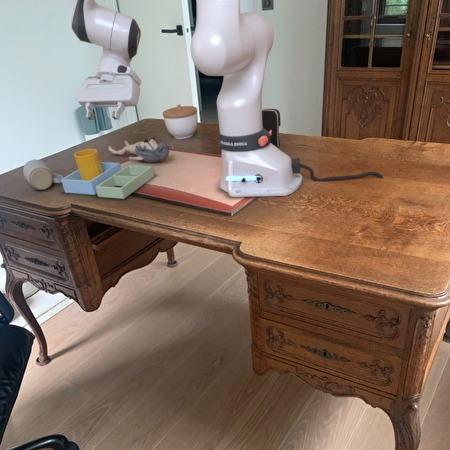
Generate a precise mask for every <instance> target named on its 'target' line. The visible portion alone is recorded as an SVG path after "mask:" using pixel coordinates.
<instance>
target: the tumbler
mask: <svg viewBox="0 0 450 450" xmlns="http://www.w3.org/2000/svg"><path fill="white" fill-rule="evenodd" d="M73 157H74V160H75V164H76V166H77V170H79V173H80V177H81V180H87V181H91V180H92V179H94V178H95V177H97V176H99V175H100V174H102V173H103V171H102V167H101V163H100V162H101V160H100V157H99V153H98V150H97V149H95V148H87V149H82V150H78V151H76V152H75V153H74V154H73Z"/></svg>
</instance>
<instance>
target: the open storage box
mask: <svg viewBox="0 0 450 450" xmlns="http://www.w3.org/2000/svg"><path fill="white" fill-rule="evenodd" d="M100 163H101V167H102V171H103V173H102V174H100V175H99V176H97V177H95V178H94V179H92V180H91V181H87V180H81V177H80V173H79V170H78V169H77V170H75V171H73V172H72V173H70V174H68V175H66V176H64V178H63V179H61V182H62V183H61V184H62V187H63V190H64V193H66V194H78V195H79V194H80V195H93V196H96V195H98V194H97V191H96V186H97V185H99V184H100V183H102V182H103V181H105V180H107V179H108V178H110V177H111V176H113V175H114V174H116V173H117V172H119V171H120V170H122V167H121V163H120V162H105V161H104V162H103V161H100Z"/></svg>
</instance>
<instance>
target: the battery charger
mask: <svg viewBox="0 0 450 450" xmlns="http://www.w3.org/2000/svg"><path fill="white" fill-rule="evenodd" d="M281 123H282V122H281V113H280V110H278V109H276V108H262V126H263V128H264V129H265V130H267V131H268V132H269V131H270V130H272V132H271V133H272V135H271V136H270V143H271V144H273V145H274V146H275V147H277V148H278V147H279V146H280V145H281V143H280V126H281Z"/></svg>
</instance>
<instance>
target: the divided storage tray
mask: <svg viewBox="0 0 450 450" xmlns="http://www.w3.org/2000/svg"><path fill="white" fill-rule="evenodd" d="M155 176H156V175H155V171H154V167H153V166H152V165H132V164H127V165H126V166H124V167H123V168H121V170H120V171H119V172H117V173H116V174H114V175H113V176H111V177H110V178H108V179H107V180H105V181H103V182H102V183H100V184H99V185H97V186H96V191H97V194H96V195H97V197H98V198H107V199H108V198H109V199H121V200H124V199H126V198H127V197H129V196H130V195H131V194H132V193H134V192H135V191H137V190H138V189H139V188H141V187H142V186H143V185H144V184H146V183H147V182H148V181H150V180H151V179H152V178H153V177H155Z"/></svg>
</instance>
